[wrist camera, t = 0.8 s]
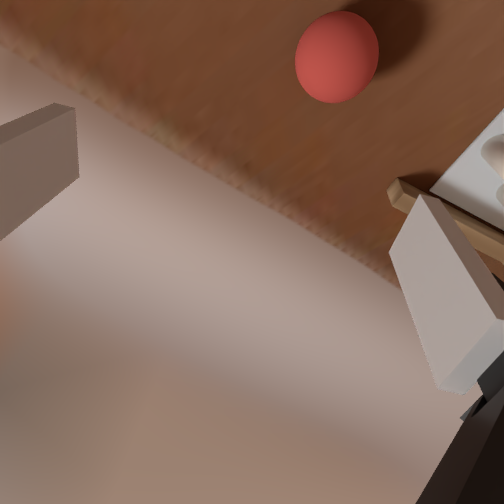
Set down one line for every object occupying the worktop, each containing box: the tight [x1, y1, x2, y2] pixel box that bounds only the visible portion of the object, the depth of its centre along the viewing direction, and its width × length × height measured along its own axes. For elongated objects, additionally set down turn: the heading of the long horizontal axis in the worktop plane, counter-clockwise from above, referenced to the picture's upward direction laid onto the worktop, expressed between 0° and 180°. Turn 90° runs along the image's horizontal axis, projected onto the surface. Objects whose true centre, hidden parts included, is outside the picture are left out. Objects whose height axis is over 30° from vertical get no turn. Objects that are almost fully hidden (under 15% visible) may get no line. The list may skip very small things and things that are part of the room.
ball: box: [295, 11, 379, 103], centre depth 27 cm, size 6×6×6 cm
